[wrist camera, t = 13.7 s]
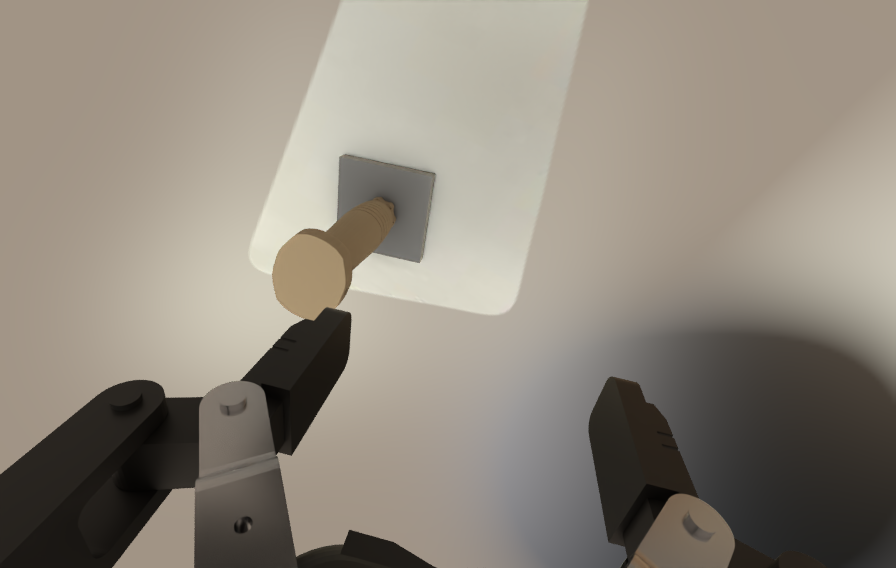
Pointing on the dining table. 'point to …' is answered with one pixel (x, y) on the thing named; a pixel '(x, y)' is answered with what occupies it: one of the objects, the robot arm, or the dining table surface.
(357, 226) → the handle
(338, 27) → the dining table surface
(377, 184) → the plate
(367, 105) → the dining table surface
